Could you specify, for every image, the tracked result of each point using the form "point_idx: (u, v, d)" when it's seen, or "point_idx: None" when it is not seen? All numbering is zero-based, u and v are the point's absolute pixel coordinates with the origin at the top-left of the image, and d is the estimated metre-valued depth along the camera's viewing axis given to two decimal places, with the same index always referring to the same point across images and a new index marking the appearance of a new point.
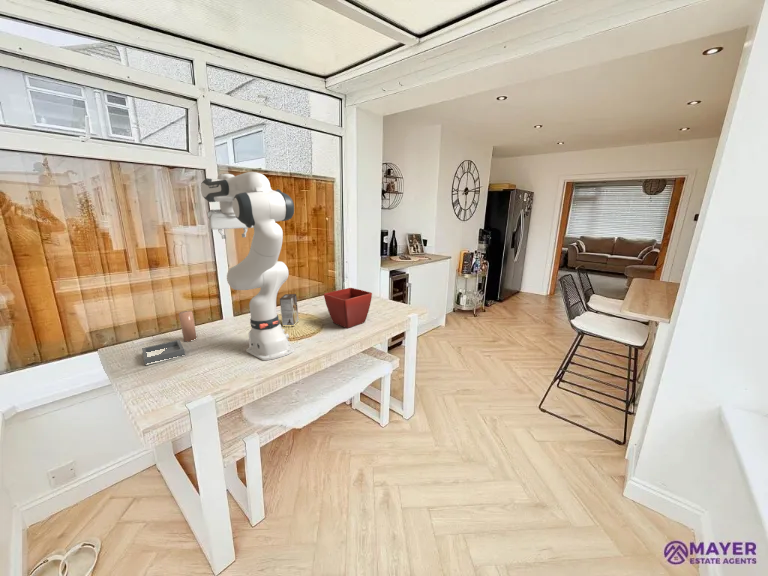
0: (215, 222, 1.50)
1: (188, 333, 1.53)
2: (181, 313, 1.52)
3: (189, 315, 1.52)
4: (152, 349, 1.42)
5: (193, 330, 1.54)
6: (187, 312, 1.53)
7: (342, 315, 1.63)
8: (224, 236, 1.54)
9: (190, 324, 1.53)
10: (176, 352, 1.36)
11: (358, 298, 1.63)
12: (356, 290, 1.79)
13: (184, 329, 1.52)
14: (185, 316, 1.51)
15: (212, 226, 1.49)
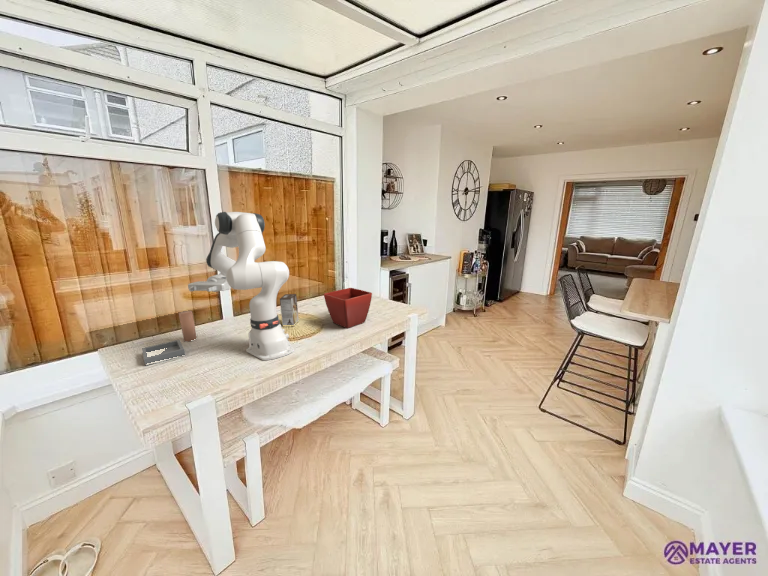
0: (194, 282, 1.70)
1: (188, 333, 1.53)
2: (181, 313, 1.51)
3: (189, 315, 1.52)
4: (152, 349, 1.42)
5: (193, 330, 1.54)
6: (187, 312, 1.53)
7: (342, 315, 1.63)
8: (192, 287, 1.64)
9: (190, 324, 1.53)
10: (176, 352, 1.36)
11: (358, 298, 1.63)
12: (356, 290, 1.79)
13: (184, 329, 1.52)
14: (185, 316, 1.51)
15: None
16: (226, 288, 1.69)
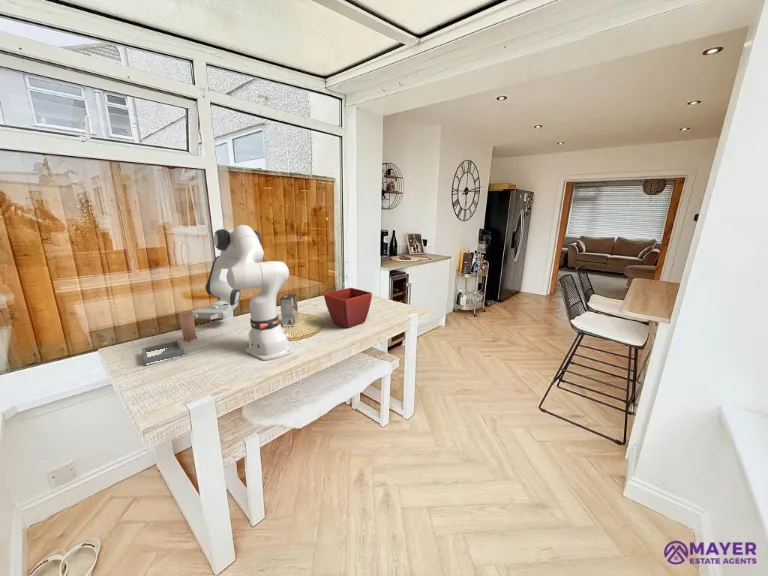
0: (196, 310, 1.72)
1: (188, 333, 1.53)
2: (181, 313, 1.51)
3: (189, 315, 1.52)
4: (152, 349, 1.42)
5: (193, 330, 1.54)
6: (187, 312, 1.53)
7: (342, 315, 1.63)
8: (193, 315, 1.65)
9: (190, 324, 1.53)
10: (176, 352, 1.36)
11: (358, 298, 1.63)
12: (356, 290, 1.79)
13: (184, 329, 1.52)
14: (185, 316, 1.51)
15: None
16: (228, 315, 1.70)
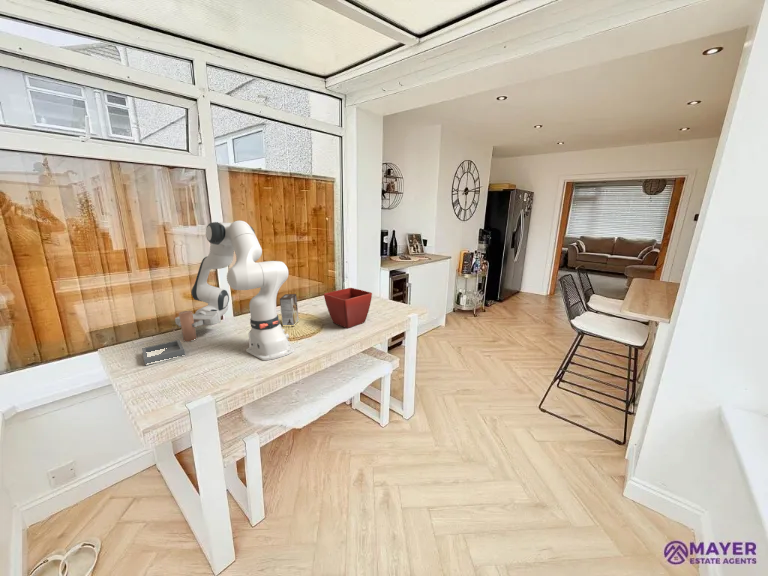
0: None
1: (188, 333, 1.53)
2: (181, 313, 1.51)
3: (189, 315, 1.52)
4: (152, 349, 1.42)
5: (193, 330, 1.54)
6: (187, 312, 1.53)
7: (342, 315, 1.63)
8: None
9: (190, 324, 1.53)
10: (176, 352, 1.36)
11: (358, 298, 1.63)
12: (356, 290, 1.79)
13: (184, 329, 1.52)
14: (185, 316, 1.51)
15: (177, 317, 1.60)
16: (215, 322, 1.60)
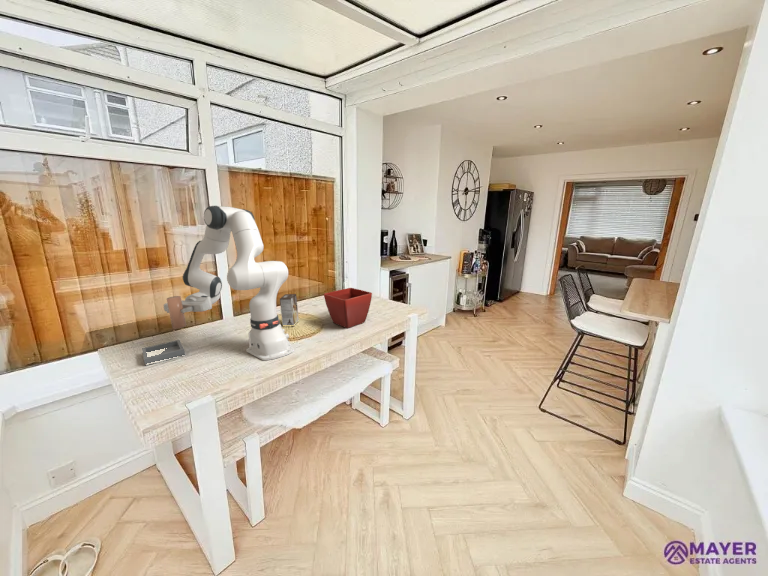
0: None
1: (177, 319, 1.45)
2: (169, 298, 1.44)
3: (178, 301, 1.44)
4: (152, 349, 1.42)
5: (182, 316, 1.47)
6: (175, 297, 1.45)
7: (342, 315, 1.63)
8: None
9: (178, 310, 1.45)
10: (176, 352, 1.36)
11: (358, 298, 1.63)
12: (356, 290, 1.79)
13: (172, 315, 1.44)
14: (173, 301, 1.43)
15: None
16: (206, 308, 1.53)
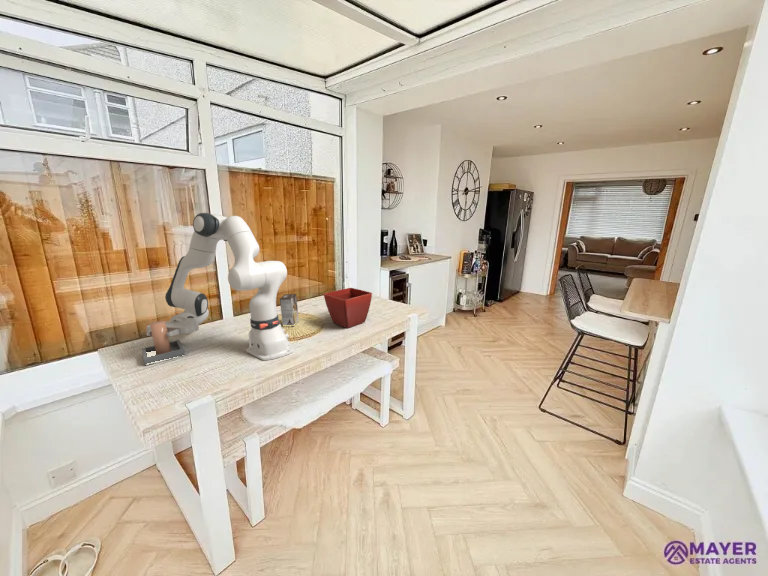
0: None
1: (161, 346, 1.36)
2: (153, 324, 1.35)
3: (162, 326, 1.36)
4: (152, 349, 1.42)
5: (166, 343, 1.38)
6: (160, 323, 1.36)
7: (342, 315, 1.63)
8: (150, 331, 1.38)
9: (163, 336, 1.36)
10: (176, 352, 1.36)
11: (358, 298, 1.63)
12: (356, 290, 1.79)
13: (156, 342, 1.36)
14: (157, 327, 1.34)
15: (148, 325, 1.43)
16: (192, 330, 1.43)
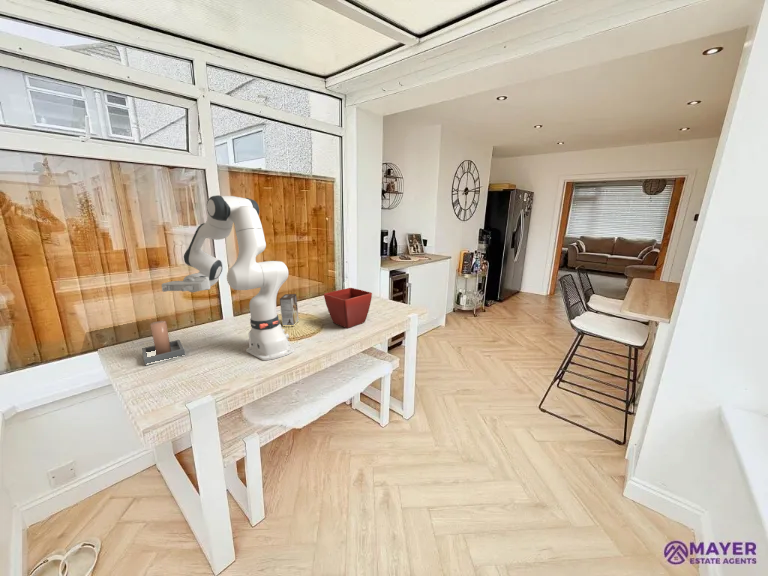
0: (169, 282, 1.53)
1: (161, 346, 1.36)
2: (153, 324, 1.35)
3: (163, 326, 1.36)
4: (152, 349, 1.42)
5: (167, 343, 1.38)
6: (160, 323, 1.36)
7: (342, 315, 1.63)
8: (165, 287, 1.46)
9: (163, 336, 1.36)
10: (176, 352, 1.36)
11: (358, 298, 1.63)
12: (356, 290, 1.79)
13: (156, 342, 1.36)
14: (157, 327, 1.34)
15: (163, 283, 1.51)
16: (204, 288, 1.52)
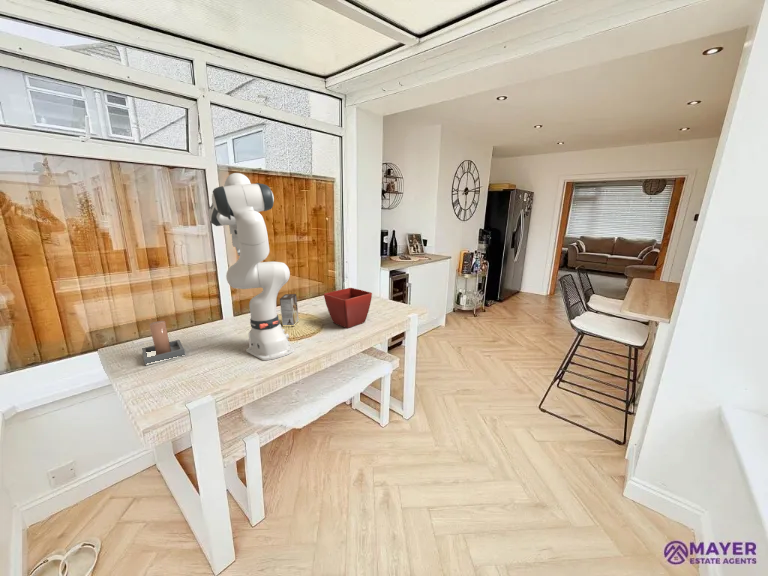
0: (232, 241, 1.73)
1: (161, 346, 1.36)
2: (152, 324, 1.35)
3: (162, 326, 1.36)
4: (152, 349, 1.42)
5: (166, 343, 1.38)
6: (159, 323, 1.36)
7: (342, 315, 1.63)
8: (238, 253, 1.73)
9: (163, 336, 1.36)
10: (176, 352, 1.36)
11: (358, 298, 1.63)
12: (356, 290, 1.79)
13: (156, 342, 1.36)
14: (157, 327, 1.34)
15: None
16: None
